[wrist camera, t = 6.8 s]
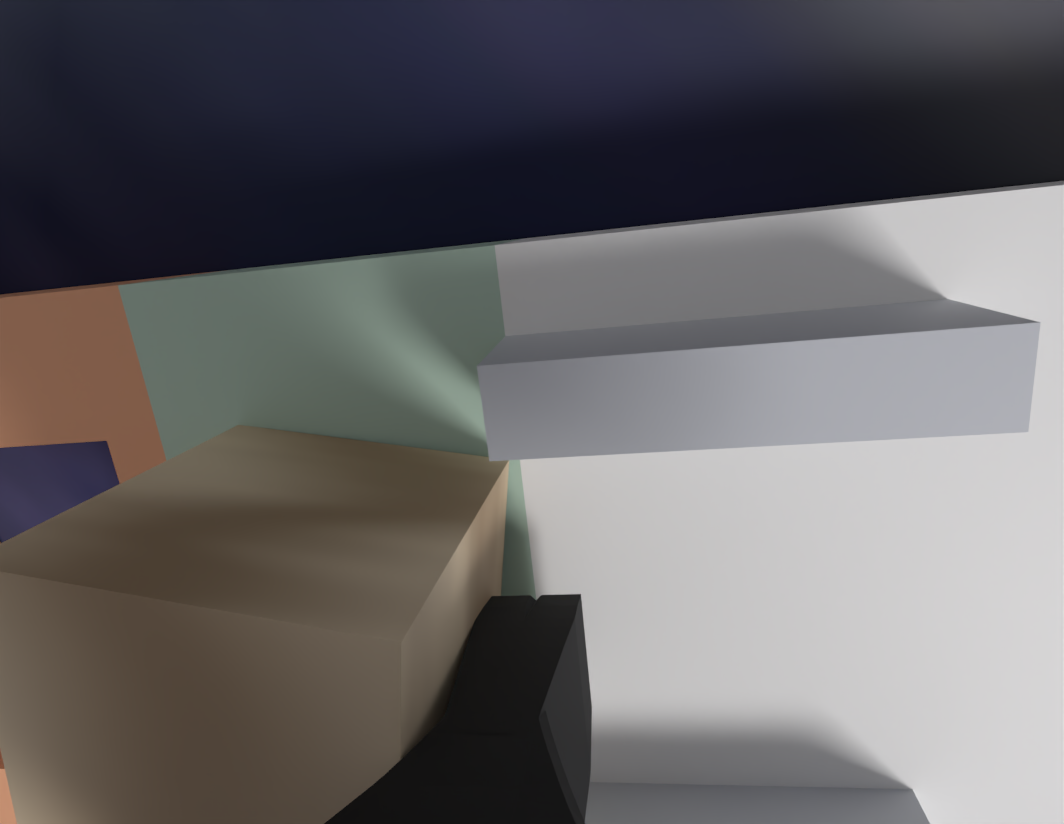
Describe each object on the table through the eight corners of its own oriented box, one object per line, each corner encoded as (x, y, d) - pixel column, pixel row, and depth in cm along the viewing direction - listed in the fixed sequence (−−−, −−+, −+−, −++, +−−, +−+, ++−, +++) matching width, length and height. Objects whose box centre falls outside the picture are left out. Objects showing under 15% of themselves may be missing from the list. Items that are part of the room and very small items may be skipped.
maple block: (509, 459, 10) (401, 643, 6) (494, 701, 11) (398, 996, 7) (238, 424, 11) (-41, 563, 6) (255, 656, 12) (34, 901, 8)
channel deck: (1427, 141, 10) (2175, 72, 5) (1264, 772, 13) (1627, 1085, 8) (-126, 308, 14) (-500, 354, 9) (45, 751, 18) (-170, 950, 13)
